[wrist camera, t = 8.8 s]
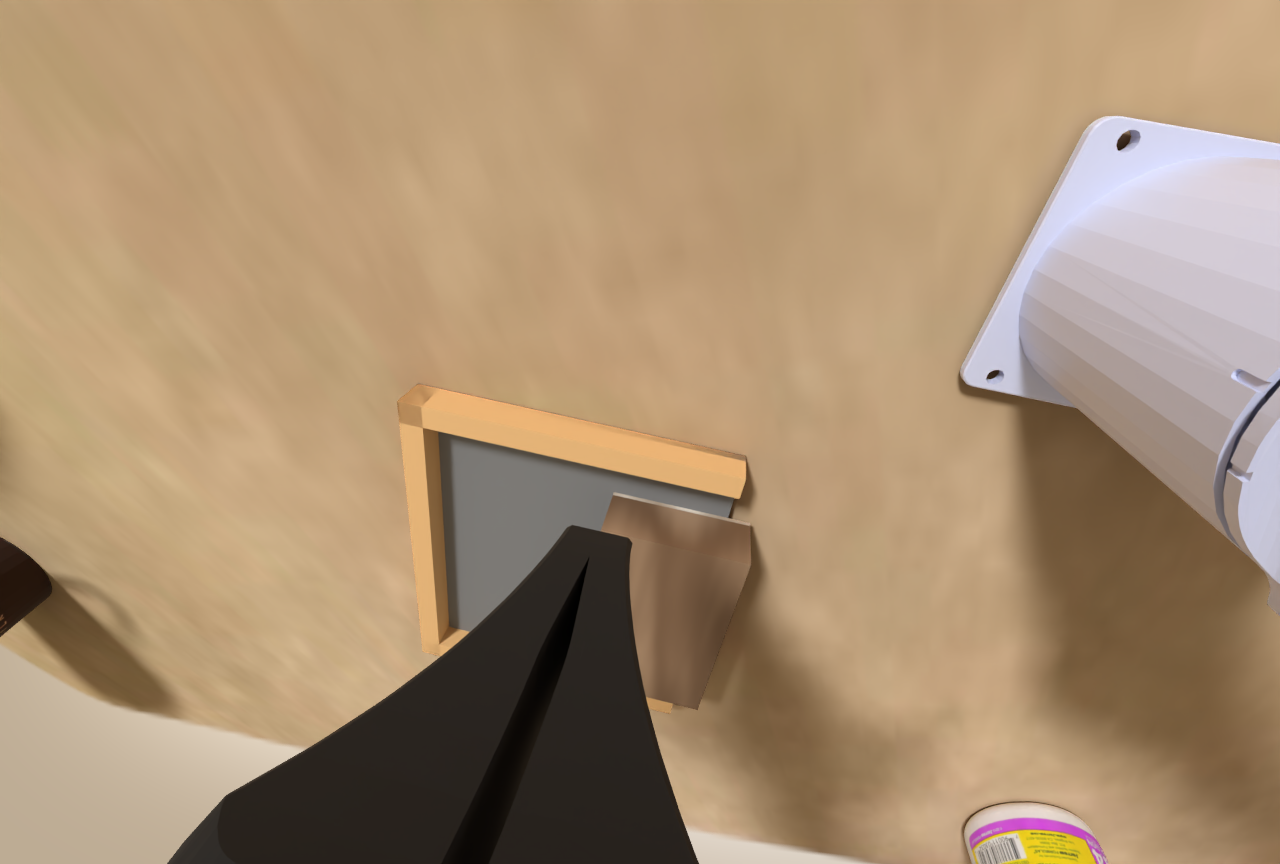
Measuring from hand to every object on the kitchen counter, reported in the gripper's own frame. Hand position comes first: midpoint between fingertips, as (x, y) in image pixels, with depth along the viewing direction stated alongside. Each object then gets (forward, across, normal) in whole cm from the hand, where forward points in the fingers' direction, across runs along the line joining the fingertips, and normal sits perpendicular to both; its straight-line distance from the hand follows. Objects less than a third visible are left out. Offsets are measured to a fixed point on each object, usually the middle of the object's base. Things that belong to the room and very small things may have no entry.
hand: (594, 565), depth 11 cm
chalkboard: (+10, +3, +11) cm, 15 cm away
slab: (+9, -5, +11) cm, 15 cm away
